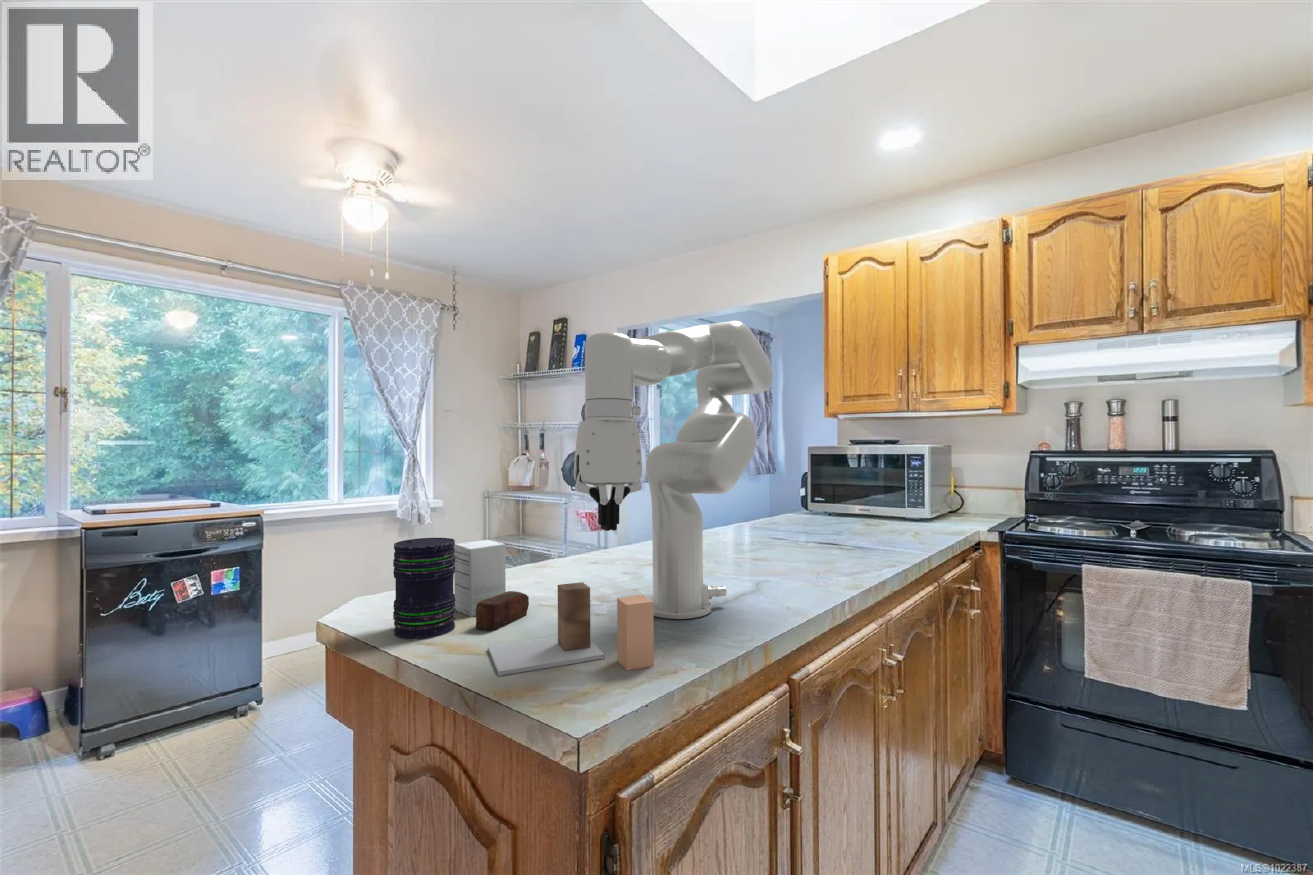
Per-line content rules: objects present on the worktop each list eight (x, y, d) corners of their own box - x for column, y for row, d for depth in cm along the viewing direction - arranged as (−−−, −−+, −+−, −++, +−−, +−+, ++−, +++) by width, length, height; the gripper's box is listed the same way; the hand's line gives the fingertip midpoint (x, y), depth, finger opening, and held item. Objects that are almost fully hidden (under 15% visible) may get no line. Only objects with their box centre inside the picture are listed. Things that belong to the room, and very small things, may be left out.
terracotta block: (643, 656, 84) (642, 594, 84) (653, 665, 81) (653, 601, 81) (617, 660, 83) (617, 598, 83) (627, 670, 79) (626, 604, 79)
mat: (582, 635, 93) (582, 632, 93) (604, 658, 83) (604, 654, 83) (488, 649, 87) (487, 645, 87) (498, 675, 77) (498, 671, 77)
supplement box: (489, 602, 115) (488, 539, 115) (506, 609, 109) (506, 543, 109) (453, 609, 110) (452, 543, 110) (469, 617, 104) (469, 548, 104)
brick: (494, 632, 96) (494, 604, 96) (475, 630, 97) (475, 602, 97) (529, 615, 106) (529, 590, 106) (511, 613, 107) (511, 588, 107)
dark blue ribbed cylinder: (467, 623, 101) (466, 538, 101) (433, 641, 91) (433, 548, 92) (417, 619, 103) (417, 536, 103) (379, 637, 94) (379, 546, 94)
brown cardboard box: (583, 639, 90) (582, 582, 90) (590, 647, 86) (590, 587, 86) (557, 643, 88) (557, 584, 88) (564, 651, 85) (564, 590, 85)
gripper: (643, 415, 96) (643, 524, 96) (556, 413, 90) (555, 529, 90) (661, 412, 90) (661, 530, 89) (568, 409, 84) (568, 535, 83)
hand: (608, 529), depth 89 cm, fingers closed
